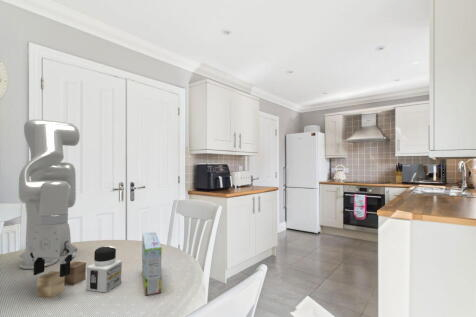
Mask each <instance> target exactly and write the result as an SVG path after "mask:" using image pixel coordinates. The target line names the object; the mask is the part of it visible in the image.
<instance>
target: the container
mask: <svg viewBox="0 0 476 317" xmlns="http://www.w3.org/2000/svg"><path fill="white" fill-rule="evenodd" d="M93 253H94V255H93V256H94V259H93V261H94V262H93V263H92V264H89V265H87V266H86V284H85V285H86V286H85V289H86V291H92V292H98V293H99V292H100V293H107V292H109V291H111V290H112V289H113V288H115V287H116V286H118V285H120V284H121V283H122V267H123V264H122V263H123V260H118V259H117V258H116V257H117V248H116V247H115V246H112V245H105V246H101V247H98V248H96V249H95V250H94V252H93Z"/></svg>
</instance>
